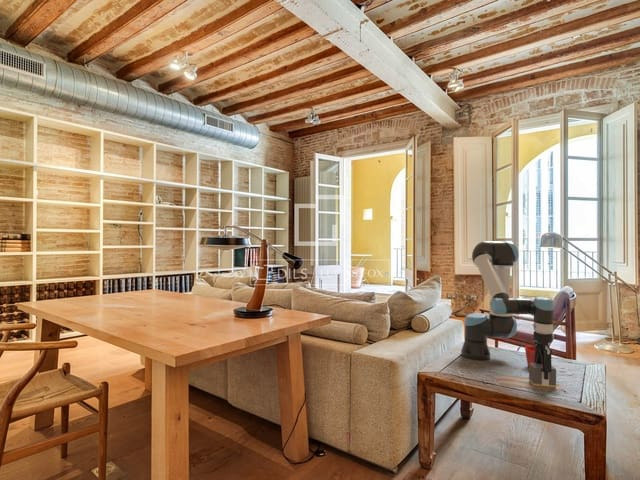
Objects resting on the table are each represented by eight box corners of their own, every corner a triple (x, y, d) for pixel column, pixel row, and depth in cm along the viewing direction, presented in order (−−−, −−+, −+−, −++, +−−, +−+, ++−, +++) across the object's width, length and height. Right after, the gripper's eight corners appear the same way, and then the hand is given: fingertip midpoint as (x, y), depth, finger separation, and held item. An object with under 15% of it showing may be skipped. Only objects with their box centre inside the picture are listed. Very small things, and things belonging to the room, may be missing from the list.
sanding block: (529, 380, 171) (529, 363, 170) (550, 381, 169) (550, 364, 169) (533, 385, 165) (533, 367, 165) (556, 387, 163) (556, 369, 163)
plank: (493, 376, 177) (493, 374, 177) (553, 381, 172) (553, 379, 172) (500, 387, 164) (500, 385, 164) (565, 393, 159) (565, 391, 159)
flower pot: (542, 364, 194) (542, 346, 194) (553, 372, 184) (553, 352, 183) (521, 363, 196) (521, 345, 195) (530, 371, 185) (531, 352, 184)
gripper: (526, 326, 176) (526, 374, 177) (541, 337, 158) (541, 390, 158) (544, 327, 175) (543, 375, 175) (561, 338, 156) (560, 392, 157)
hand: (542, 382), depth 167 cm, fingers closed on sanding block, 6 cm apart
